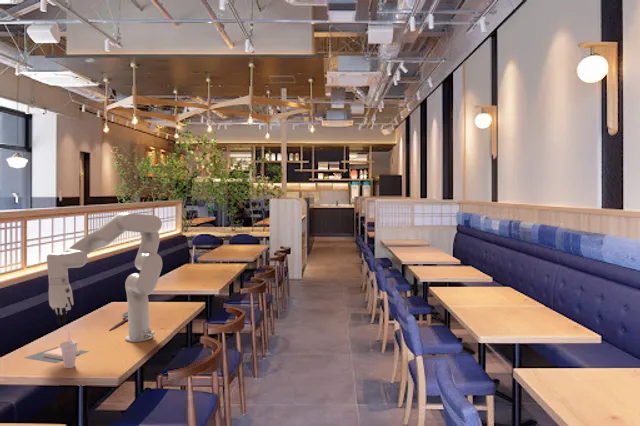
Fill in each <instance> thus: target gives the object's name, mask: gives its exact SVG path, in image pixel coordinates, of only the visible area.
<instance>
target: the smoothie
mask: <svg viewBox="0 0 640 426" xmlns="http://www.w3.org/2000/svg"><path fill="white" fill-rule="evenodd" d="M67 336H68V340H67V341H63V342H61V343H59V344H60V345H59V347H61V350H62V356H63V361H62V362H63V364H64V365H63V366H64V369H71V368H72V369H73V368H74V367H75V366H76V357H77V356H76V350H78V349H77V347H78V343H79V342H78V341H77V340H71V332H70V331H68V333H67Z"/></svg>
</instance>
